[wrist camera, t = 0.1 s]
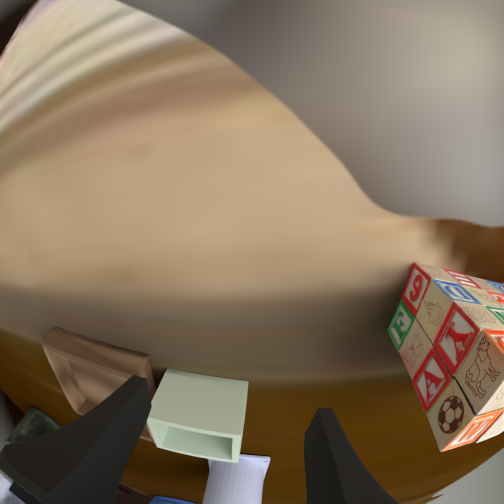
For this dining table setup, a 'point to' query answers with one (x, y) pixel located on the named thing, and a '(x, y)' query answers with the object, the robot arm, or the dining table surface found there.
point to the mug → (32, 426)
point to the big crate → (94, 369)
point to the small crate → (199, 415)
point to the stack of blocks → (453, 352)
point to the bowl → (168, 500)
